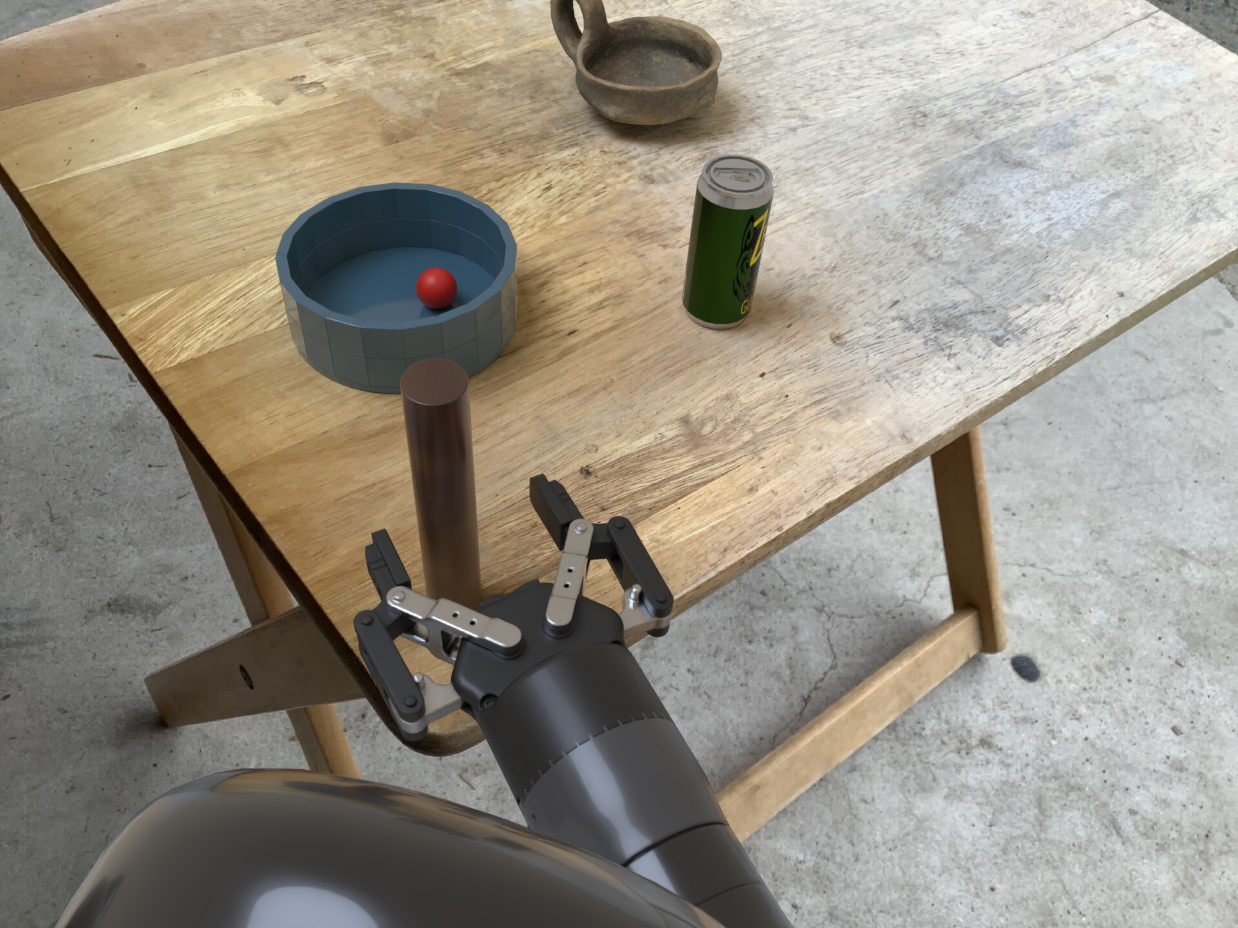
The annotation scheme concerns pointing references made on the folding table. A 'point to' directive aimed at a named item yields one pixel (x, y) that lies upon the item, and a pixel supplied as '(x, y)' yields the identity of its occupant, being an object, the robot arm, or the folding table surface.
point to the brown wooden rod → (443, 478)
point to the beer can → (726, 240)
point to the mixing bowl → (397, 282)
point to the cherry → (436, 288)
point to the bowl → (638, 63)
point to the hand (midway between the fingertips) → (458, 512)
